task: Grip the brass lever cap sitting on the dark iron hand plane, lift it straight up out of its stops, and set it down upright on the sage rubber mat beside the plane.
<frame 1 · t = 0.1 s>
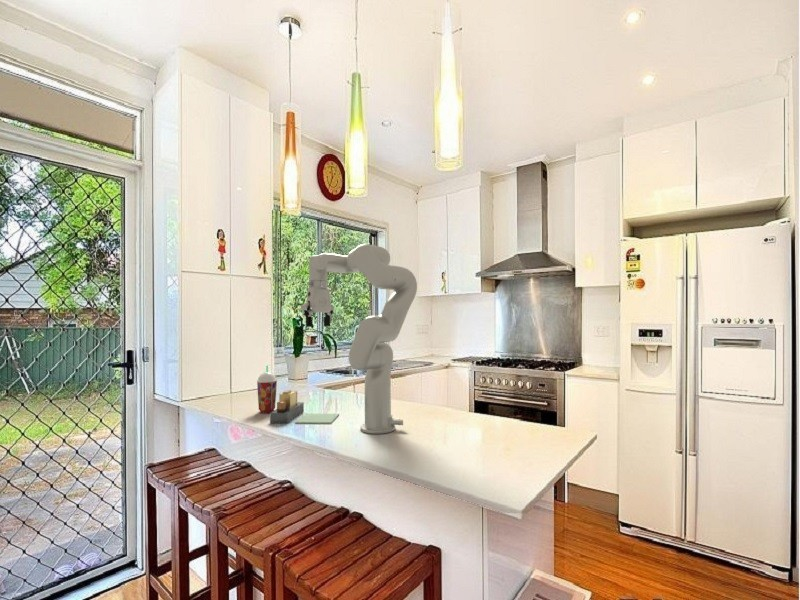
hand: (318, 326, 169), 37 cm above the countertop, tool pointing down, fingers open, 9 cm apart
hand plane: (287, 417, 167), on the countertop
rubber mat: (318, 419, 163), on the countertop
lever cap: (287, 407, 167), point 4 cm above the countertop, touching hand plane
smoothie: (266, 412, 176), on the countertop
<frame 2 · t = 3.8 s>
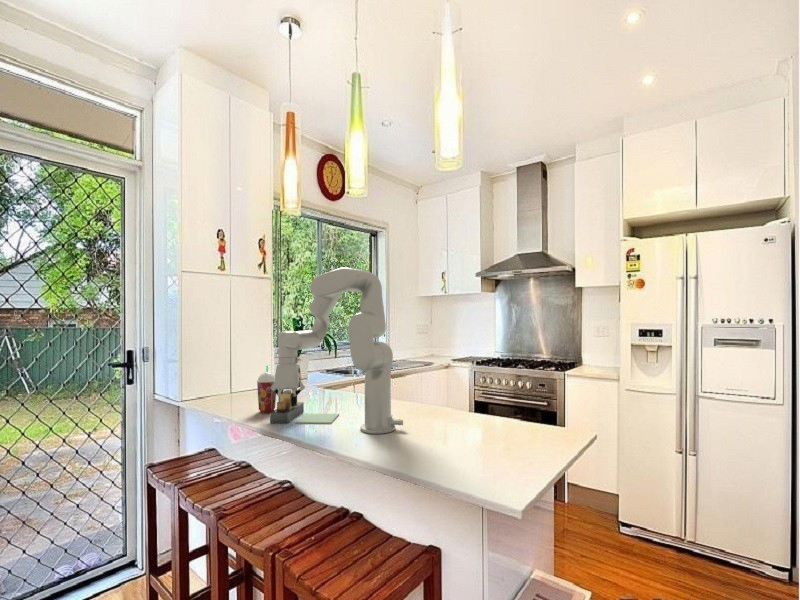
hand: (287, 405, 167), 5 cm above the countertop, tool pointing down, fingers closed on lever cap, 4 cm apart
lever cap: (287, 407, 167), point 4 cm above the countertop, touching gripper, hand plane
everything else where it was.
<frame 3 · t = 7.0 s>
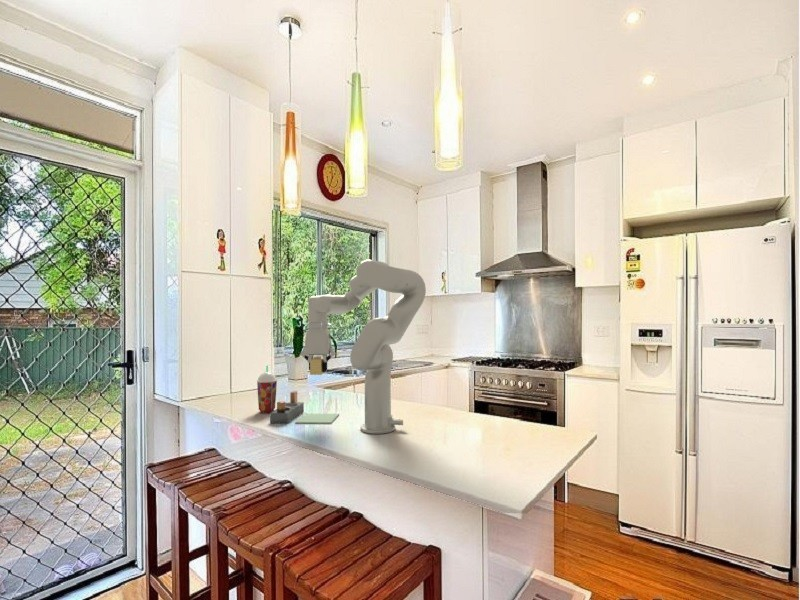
hand: (318, 371, 163), 19 cm above the countertop, tool pointing down, fingers closed on lever cap, 4 cm apart
lever cap: (318, 373, 163), point 18 cm above the countertop, touching gripper
everything else where it was.
when the fingers open (3 cm above the countertop, at t = 10.3 s): lever cap drops 1 cm, resting on rubber mat.
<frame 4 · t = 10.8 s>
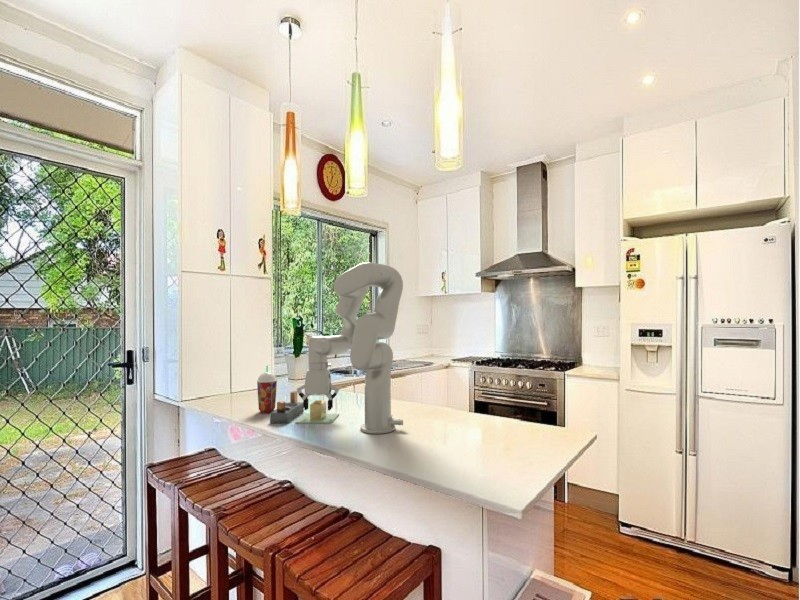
hand: (318, 409, 163), 4 cm above the countertop, tool pointing down, fingers open, 9 cm apart
lever cap: (318, 417, 163), point 1 cm above the countertop, touching rubber mat
everything else where it was.
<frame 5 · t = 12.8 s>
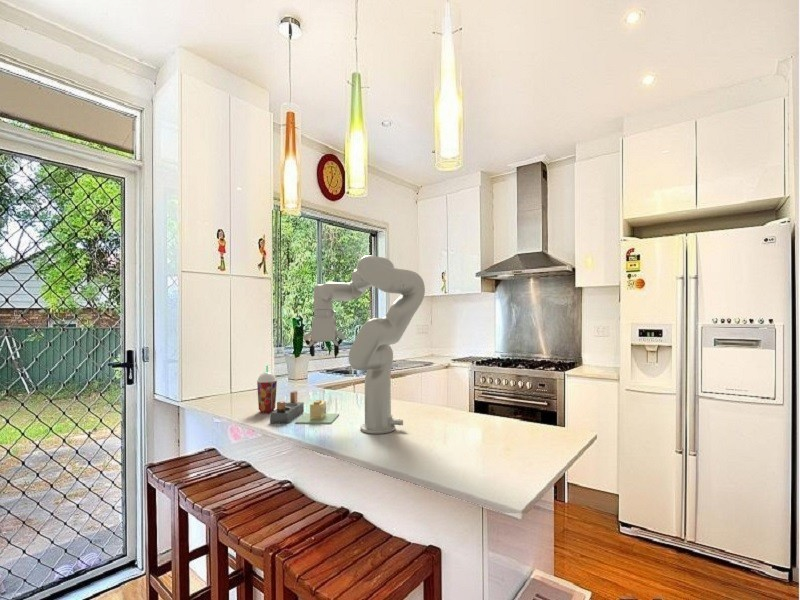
hand: (324, 355, 166), 25 cm above the countertop, tool pointing down, fingers open, 9 cm apart
nothing on the countertop moved.
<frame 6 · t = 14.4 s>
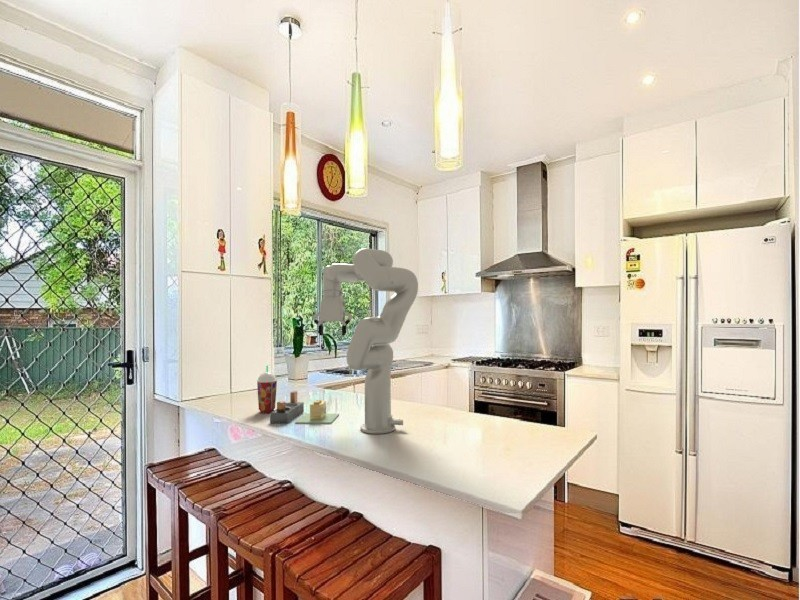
hand: (332, 335, 172), 33 cm above the countertop, tool pointing down, fingers open, 9 cm apart
nothing on the countertop moved.
at the end: lever cap inside the target area on the rubber mat (0.1 cm from its centre), point 0.6 cm above the rubber mat's base; lever cap tilted 0°; lever cap touching rubber mat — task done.
